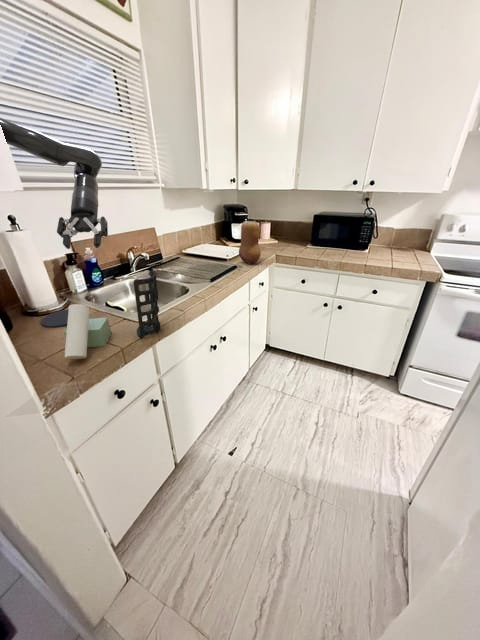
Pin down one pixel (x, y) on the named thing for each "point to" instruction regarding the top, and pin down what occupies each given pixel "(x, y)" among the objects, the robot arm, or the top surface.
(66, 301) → the top surface
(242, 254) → the butternut squash
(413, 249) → the top surface
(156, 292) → the holder
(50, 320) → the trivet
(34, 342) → the top surface
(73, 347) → the gray elongated block
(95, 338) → the leaning block
